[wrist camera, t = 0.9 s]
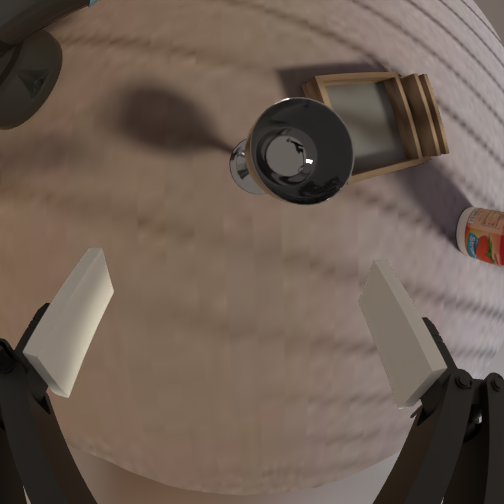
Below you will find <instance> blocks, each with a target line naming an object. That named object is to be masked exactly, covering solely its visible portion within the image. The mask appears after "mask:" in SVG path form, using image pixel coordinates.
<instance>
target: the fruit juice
mask: <svg viewBox="0 0 504 504" xmlns="http://www.w3.org/2000/svg"><path fill="white" fill-rule="evenodd" d="M456 238H457V244H458V247H459V249H460V251H461V252H462V253H463V254H465V255H467V256H470V257H473V258H476V259H479V260H482V261H485V262H488V263H491V264H494V265H497V266H500V267H502V268H504V212H500V211H495V210H489V209H483V208H477V207H469V208H467V209H465V210H464V211H463V213H462V214H461V216H460V218H459V221H458V225H457V232H456Z"/></svg>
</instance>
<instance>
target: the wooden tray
mask: <svg viewBox="0 0 504 504" xmlns="http://www.w3.org/2000/svg"><path fill="white" fill-rule="evenodd" d="M301 86H302V89H303V92H304V95H305V98H310V99H313V100H316V101H319V102H321V103H323V104H325V105H327V106H328V107H330V108H331V109H332V110H334V111H335V112H336V113H337V114H338V115H339V116H340V117H341V118H342V120H343V121H344V123H345V124H346V126H347V128H348V130H349V132H350V134H351V137H352V140H353V144H354V151H355V160H354V166H353V170H352V173H351V176H350V178H349V180H348V182H347V184H351V183H354V182H358V181H361V180H365V179H368V178H372V177H375V176H379V175H382V174H386V173H389V172H393V171H397V170H401V169H404V168H408V167H412V166H415V165H419V164H423V163H424V162H425V161H429V160H432V159H431V156H440V155H441V154H448V153H449V149H448V145H447V140H446V136H445V132H444V128H443V124H442V120H441V117H440V113H439V110H438V106H437V103H436V100H435V97H434V94H433V91H432V88H431V85H430V82H429V79H428V76H427V74H422V75H419V76H418V74H411V75H409V76H398V73H397V72H361V73H343V74H331V75H321V76H314V77H313V78H312V79H311V80H310V81H308V82H305V83H303V84H302V85H301Z"/></svg>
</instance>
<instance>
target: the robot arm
mask: <svg viewBox="0 0 504 504" xmlns="http://www.w3.org/2000/svg"><path fill="white" fill-rule="evenodd" d="M97 1H100V0H0V129H1V130H7V129H12V128H14V127H17V126H19V125H21V124H22V123H24V122H25V121H26V120H28V119H29V118H30V117H31V116H32V115H33V114H34V113H35V112H36V111H37V110H38V109H39V108H40V107H41V106H42V104H43V103H44V102H45V100H46V99H47V98H48V96H49V94H50V93H51V91H52V89H53V87H54V85H55V83H56V81H57V79H58V76H59V73H60V70H61V65H62V50H61V47H60V44H59V43H58V41H57V40H56V39H55V38H54V37H53V36H52V35H51V34H50V33H48V32H46V31H43V30H41V29H43V28H45V27H46V26H48V25H50V24H52V23H54V22H55V21H57V20H59V19H61V18H63V17H65V16H67V15H69V14H71V13H73V12H75V11H77V10H79V9H81V8H84V7H86V6H88V7H90V6H92V5H94V3H95V2H97ZM113 293H114V291H113V287H112V284H111V280H110V277H109V273H108V269H107V265H106V261H105V257H104V253H103V249H102V248H90V247H89V249H88V250H87V251H86V253H85V254H84V255H83V257H82V258H81V259H80V261H79V262H78V264H77V265H76V266H75V268H74V269H73V271H72V272H71V273H70V275H69V276H68V278H67V279H66V281H65V282H64V284H63V285H62V287H61V288H60V290H59V291H58V293H57V294H56V296H55V297H54V299H53V300H52V302H51V304H50V303H45V304H44V305H43V306H42V307H41V308H40V309H39V310H38V311H37V312H36V314H35V316H34V317H33V320H32V321H31V322H30V324H29V325H28V326H29V327H27V329H26V331H25V332H24V334H23V336H22V338H21V339H20V341H19V343H18V345H17V347H16V348H15V350H13V349H12V347H11V346H10V344H9V343H8V342H7V341H6V340H5V339H1V338H0V504H27V502H26V497H25V493H24V488H25V491H26V493H27V495H28V498H29V500H30V502H31V504H97V502H96V501H95V499H94V497H93V496H92V494H91V492H90V490H89V489H88V487H87V485H86V483H85V481H84V479H83V478H82V476H81V474H80V472H79V470H78V468H77V466H76V464H75V462H74V460H73V457H72V455H71V453H70V451H69V449H68V447H67V444H66V442H65V439H64V437H63V435H62V432H61V430H60V427H59V424H58V422H57V419H56V416H55V413H54V411H53V408H52V405H51V402H50V399H49V396H48V394H47V393H46V390H47V388H48V387H49V388H50V389H51V390H52V391H53V392H54V394H57V395H61V396H64V397H67V398H69V396H70V393H71V390H72V387H73V385H74V382H75V379H76V377H77V374H78V371H79V369H80V366H81V364H82V361H83V359H84V356H85V354H86V352H87V349H88V347H89V344H90V342H91V340H92V338H93V335H94V333H95V331H96V328H97V326H98V324H99V322H100V320H101V318H102V315H103V313H104V311H105V309H106V307H107V305H108V303H109V301H110V299H111V297H112V295H113ZM359 304H360V307H361V309H362V312H363V314H364V316H365V319H366V321H367V324H368V326H369V329H370V331H371V334H372V336H373V339H374V342H375V344H376V347H377V349H378V352H379V355H380V357H381V360H382V363H383V365H384V368H385V371H386V374H387V377H388V379H389V382H390V385H391V388H392V391H393V394H394V397H395V400H396V403H397V406H398V409H402V408H406V407H410V406H413V405H414V404H415V403H416V402H417V401H418V400H419V399H421V402H422V405H421V406H420V407H419V408H418V409H417V410H416V411H415V412H414V413H413V414H412V415H411V418H413V417H414V416H415V415H416V414H417V415H416V417H415V420H414V422H413V425H412V427H411V430H410V432H409V435H408V437H407V439H406V441H405V444H404V446H403V448H402V450H401V452H400V455H399V457H398V459H397V461H396V463H395V465H394V467H393V469H392V471H391V473H390V474H389V476H388V478H387V480H386V482H385V484H384V485H383V487H382V489H381V491H380V493H379V494H378V496H377V497H376V499H375V501H374V502H373V504H441V502H442V500H443V503H442V504H504V379H503V378H502V376H500V375H499V374H497V373H490V374H489V375H488V376H487V377H486V378H485V379H484V380H480V379H473V378H472V377H471V375H470V374H469V373H468V372H466V371H465V370H462V369H458V368H457V367H456V365H455V363H454V361H453V359H452V357H451V355H450V353H449V351H448V349H447V347H446V345H445V343H443V340H442V338H441V336H439V332H438V331H437V329H436V327H435V325H434V324H433V323H432V322H431V321H430V320H429V319H428V318H427V317H424V318H421V316H420V314H419V312H418V311H417V309H416V307H415V305H414V304H413V302H412V300H411V299H410V297H409V295H408V294H407V292H406V290H405V289H404V287H403V285H402V284H401V282H400V281H399V279H398V277H397V276H396V274H395V273H394V271H393V269H392V268H391V266H390V265H389V263H388V262H387V260H373V263H372V266H371V269H370V272H369V275H368V278H367V280H366V283H365V286H364V288H363V291H362V294H361V296H360V299H359ZM481 416H482V422H481V423H479V417H481ZM23 486H24V488H23ZM443 497H444V499H443Z"/></svg>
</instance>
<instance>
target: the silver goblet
mask: <svg viewBox="0 0 504 504" xmlns="http://www.w3.org/2000/svg"><path fill="white" fill-rule="evenodd" d="M354 160H355V151H354V144H353V140H352V137H351V134H350V132H349V130H348V128H347V126H346V124H345V123H344V121H343V120H342V118H341V117H340V116H339V115H338V114H337V113H336V112H335V111H334V110H332V109H331V108H330V107H328V106H327V105H325V104H323V103H321V102H319V101H316V100H313V99H310V98H303V97H295V98H288V99H284V100H282V101H279V102H277V103H275V104H274V105H272V106H271V107H269V108H268V109H266V110H265V111H264V112H263V113H262V114H261V116H260V117H259V118H258V119H257V120H256V121H255V123H254V124H253V126H252V128H251V129H250V131H249V133H248V136H247V139H246V140H244V141H242V142H241V143H240V144H239V145H238V146H237V147H236V148H235V150H234V151H233V153H232V156H231V160H230V170H231V174H232V177H233V179H234V180H235V182H236V183H237V184H238V186H240V187H241V188H242V189H243V190H245V191H247V192H249V193H252V194H268V195H270V196H271V197H273V198H275V199H278V200H280V201H283V202H287V203H291V204H297V205H314V204H320V203H322V202H325V201H328V200H329V199H331V198H333V197H334V196H336V195H337V194H338V193H339V192H340V191H341V190H342V189H343V188H344V186H345V185H346V184H347V182H348V180H349V178H350V176H351V173H352V170H353V166H354Z"/></svg>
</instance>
